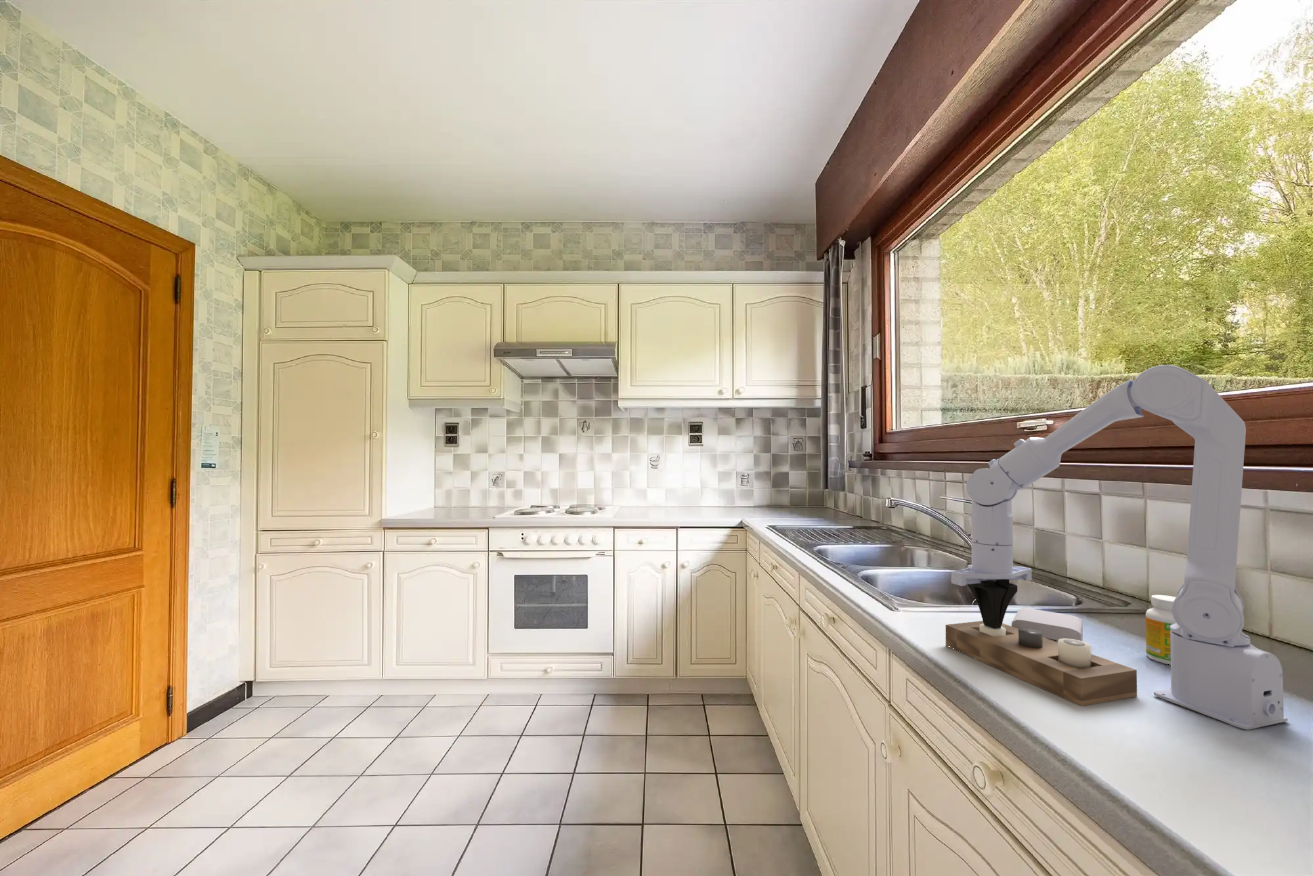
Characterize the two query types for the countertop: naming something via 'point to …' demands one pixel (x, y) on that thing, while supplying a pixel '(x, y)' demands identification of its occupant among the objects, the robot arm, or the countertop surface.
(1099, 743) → the countertop surface
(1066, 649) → the near knob
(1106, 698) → the knob mount
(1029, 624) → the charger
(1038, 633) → the pot knob
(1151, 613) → the supplement bottle
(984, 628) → the far knob
